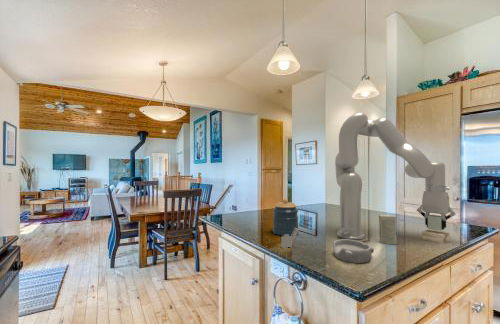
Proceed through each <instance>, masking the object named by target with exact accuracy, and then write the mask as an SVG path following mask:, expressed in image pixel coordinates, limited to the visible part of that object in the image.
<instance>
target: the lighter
mask: <svg viewBox="0 0 500 324" xmlns="http://www.w3.org/2000/svg"><path fill="white" fill-rule="evenodd" d="M299 230H300V229H299V228H298V229H297V228H294V230H293V232H292V234H291V236H289V234H285V235H284V236H281V237H280V239H281V244H280V245H281V246H280V247H281V249H289V248H288V247H292V248H293V239H296V236H297V235H298V234H297V232H298V233H299ZM286 247H287V248H286Z"/></svg>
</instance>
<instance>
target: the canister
mask: <svg viewBox="0 0 500 324" xmlns="http://www.w3.org/2000/svg"><path fill="white" fill-rule="evenodd" d="M297 206H298V205H296V204H295V203H294V202H291V201H289V200H288V198H283V200H282V201H280V202H276V204H274V208H273V209H272V212H273V215H272V232H273V235H275V234H277V235H276V236H278V235H281V237H284V235H285V234H289V236H291V234H292V232H293V230H294V228H297V229H299V215H298V212H299V209H297ZM298 234H299V231H298V232H297V235H298Z"/></svg>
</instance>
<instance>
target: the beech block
mask: <svg viewBox="0 0 500 324" xmlns="http://www.w3.org/2000/svg"><path fill="white" fill-rule="evenodd" d="M421 240H424V241H429V242H431V243H432V242H433V243H437V244H441V245H442V244H445V243H448V242H450V241H451V233H450V232H449V231H448V232H447V231H443V230H442V231H438V230H431V229H426V230H423V231H421Z"/></svg>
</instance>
